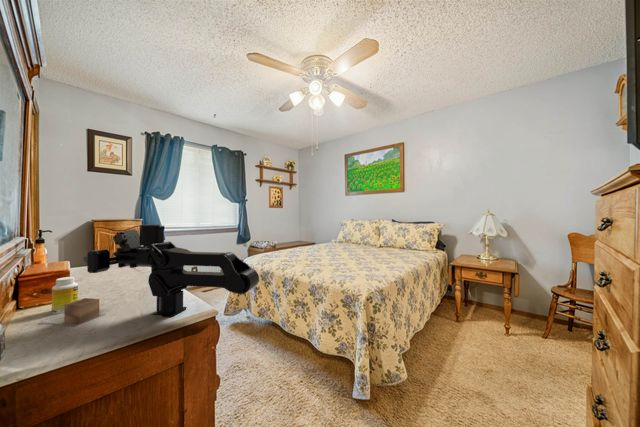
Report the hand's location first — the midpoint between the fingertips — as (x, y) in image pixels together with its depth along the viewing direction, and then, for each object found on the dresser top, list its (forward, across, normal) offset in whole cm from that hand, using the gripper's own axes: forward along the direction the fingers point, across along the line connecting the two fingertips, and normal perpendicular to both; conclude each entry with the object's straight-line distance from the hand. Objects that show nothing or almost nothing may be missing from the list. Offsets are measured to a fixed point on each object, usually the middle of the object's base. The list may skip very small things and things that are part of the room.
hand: (100, 256), depth 78 cm
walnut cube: (-5, +9, +16) cm, 19 cm away
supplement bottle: (+8, +4, +17) cm, 19 cm away
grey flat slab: (-2, +9, +16) cm, 19 cm away
